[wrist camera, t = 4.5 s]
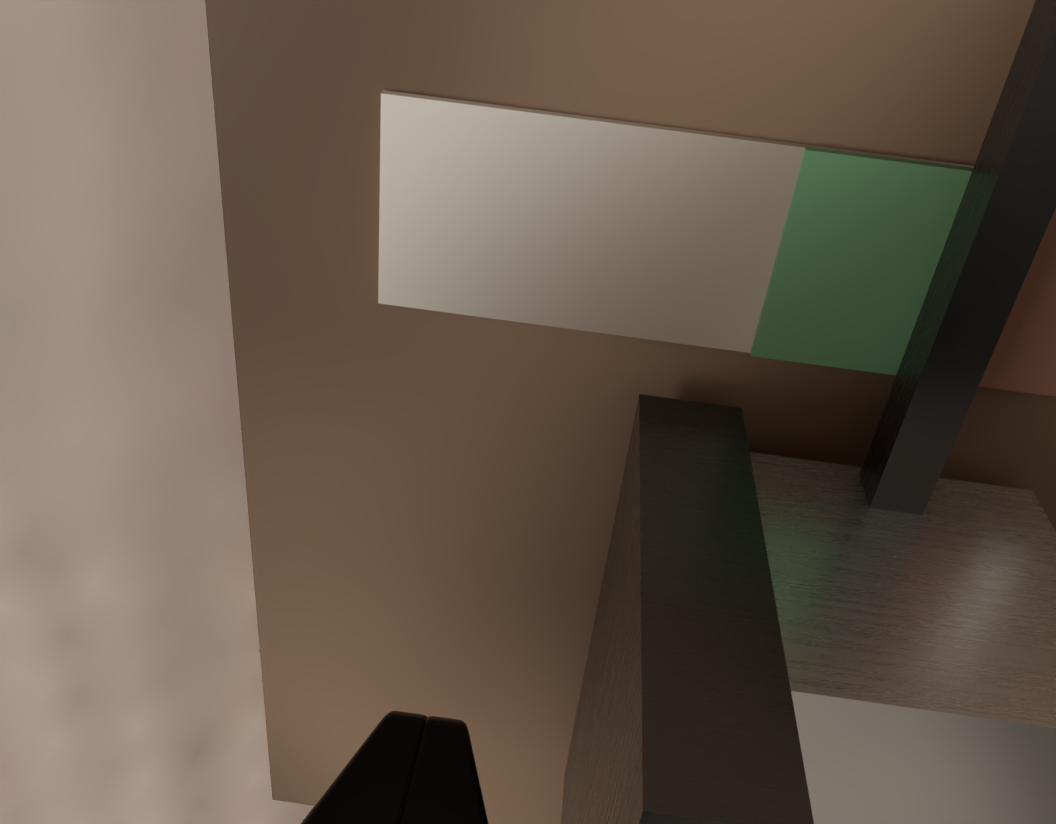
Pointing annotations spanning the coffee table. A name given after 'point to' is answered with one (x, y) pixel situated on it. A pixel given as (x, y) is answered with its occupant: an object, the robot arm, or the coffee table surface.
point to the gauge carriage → (841, 577)
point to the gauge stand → (566, 314)
